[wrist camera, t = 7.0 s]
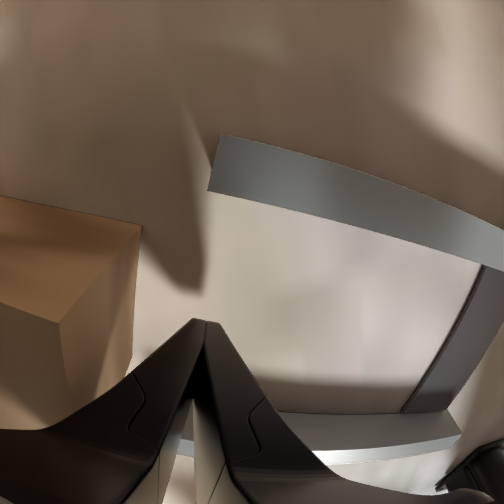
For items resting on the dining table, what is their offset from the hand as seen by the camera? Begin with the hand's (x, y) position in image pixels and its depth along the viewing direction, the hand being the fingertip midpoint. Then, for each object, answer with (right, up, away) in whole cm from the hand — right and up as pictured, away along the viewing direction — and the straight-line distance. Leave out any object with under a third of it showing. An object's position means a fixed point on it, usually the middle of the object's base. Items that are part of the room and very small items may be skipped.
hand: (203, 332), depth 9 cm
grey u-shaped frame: (+6, -1, +2) cm, 6 cm away
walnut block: (-5, +1, 0) cm, 5 cm away
